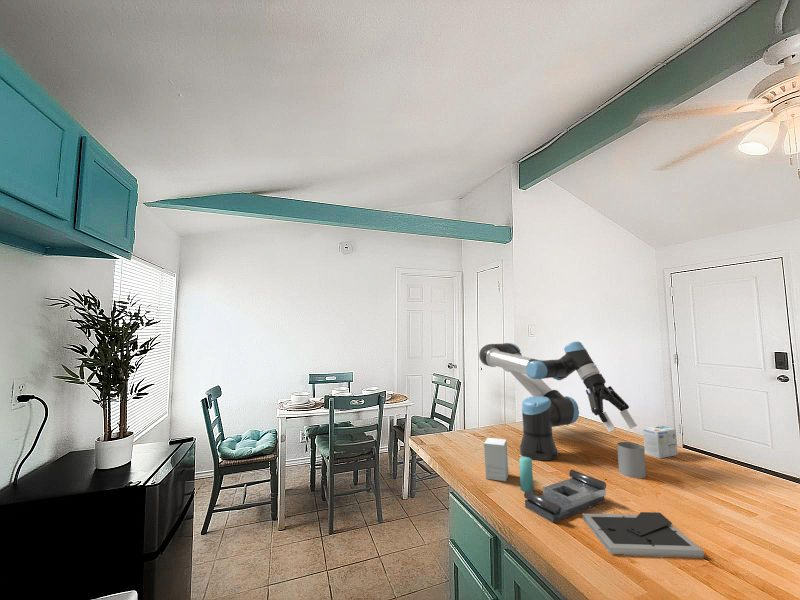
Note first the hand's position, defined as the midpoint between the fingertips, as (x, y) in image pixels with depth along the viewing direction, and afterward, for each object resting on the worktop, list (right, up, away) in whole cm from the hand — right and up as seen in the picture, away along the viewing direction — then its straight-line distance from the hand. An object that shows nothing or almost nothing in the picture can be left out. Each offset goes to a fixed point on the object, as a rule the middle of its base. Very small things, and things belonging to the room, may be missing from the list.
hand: (623, 429), depth 131 cm
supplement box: (-47, -17, -2) cm, 50 cm away
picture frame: (-22, -14, -40) cm, 48 cm away
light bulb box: (+27, -17, +17) cm, 36 cm away
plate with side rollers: (-32, -15, -23) cm, 42 cm away
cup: (+2, -16, -1) cm, 16 cm away
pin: (-40, -16, -13) cm, 45 cm away
